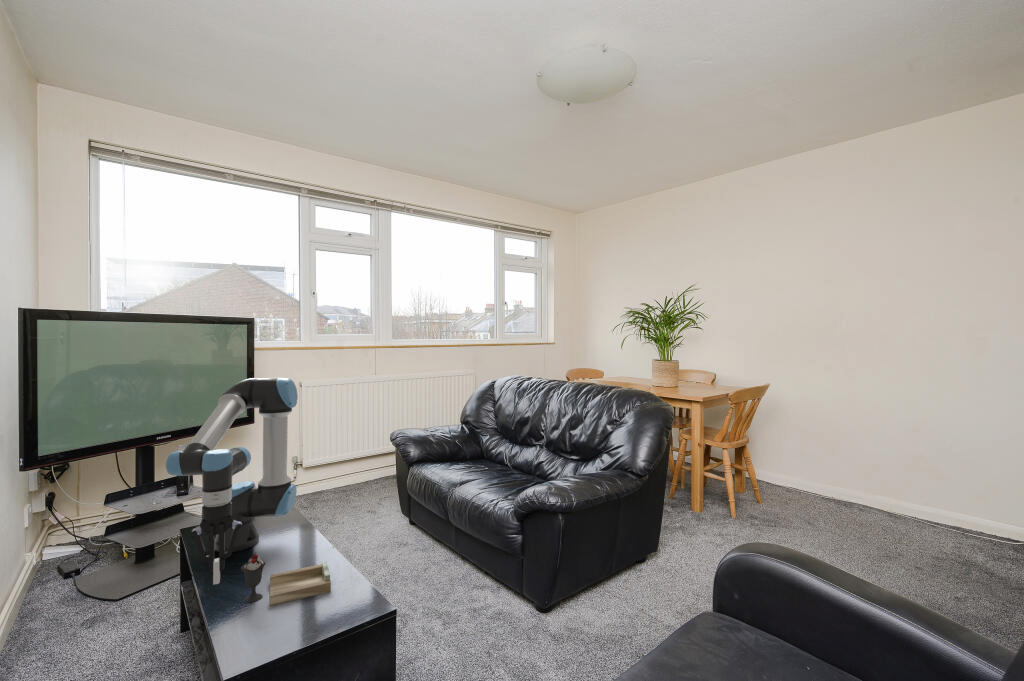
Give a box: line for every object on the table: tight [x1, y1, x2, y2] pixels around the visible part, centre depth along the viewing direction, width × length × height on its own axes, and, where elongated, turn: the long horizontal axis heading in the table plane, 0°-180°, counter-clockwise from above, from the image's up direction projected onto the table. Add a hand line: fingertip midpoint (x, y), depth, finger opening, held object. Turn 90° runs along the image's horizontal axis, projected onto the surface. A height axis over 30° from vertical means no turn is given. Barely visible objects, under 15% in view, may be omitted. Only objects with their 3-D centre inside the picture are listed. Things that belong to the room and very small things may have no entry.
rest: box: [269, 561, 332, 607], centre depth 146 cm, size 14×17×4 cm
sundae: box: [240, 551, 267, 604], centre depth 140 cm, size 7×7×15 cm
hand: (216, 581), depth 136 cm, fingers closed
